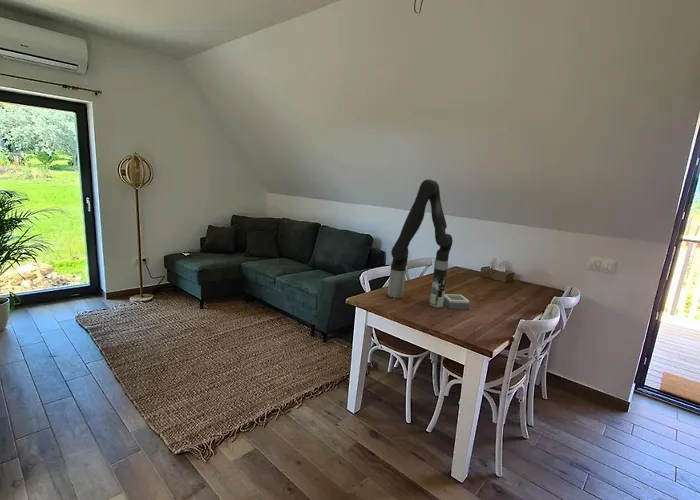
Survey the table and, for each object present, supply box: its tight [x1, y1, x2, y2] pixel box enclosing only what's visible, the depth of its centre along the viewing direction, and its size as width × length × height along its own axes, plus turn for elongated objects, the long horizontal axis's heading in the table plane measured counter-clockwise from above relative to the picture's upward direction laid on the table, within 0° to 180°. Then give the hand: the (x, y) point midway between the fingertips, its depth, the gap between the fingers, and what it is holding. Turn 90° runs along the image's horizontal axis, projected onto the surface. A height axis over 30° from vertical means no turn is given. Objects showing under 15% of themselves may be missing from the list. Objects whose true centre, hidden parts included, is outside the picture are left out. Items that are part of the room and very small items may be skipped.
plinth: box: [443, 293, 470, 311], centre depth 223 cm, size 12×12×5 cm
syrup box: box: [429, 281, 447, 309], centre depth 219 cm, size 6×6×14 cm
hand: (437, 294), depth 219 cm, fingers closed on syrup box, 7 cm apart
